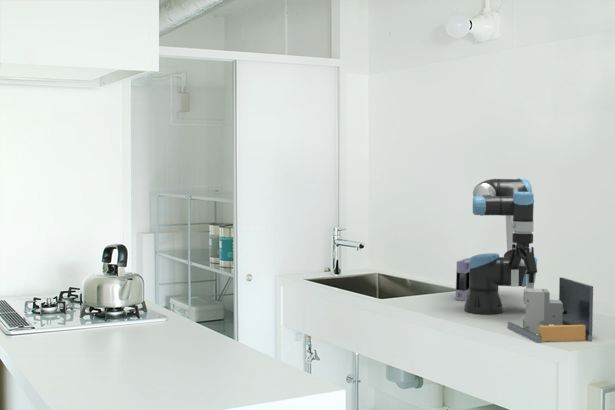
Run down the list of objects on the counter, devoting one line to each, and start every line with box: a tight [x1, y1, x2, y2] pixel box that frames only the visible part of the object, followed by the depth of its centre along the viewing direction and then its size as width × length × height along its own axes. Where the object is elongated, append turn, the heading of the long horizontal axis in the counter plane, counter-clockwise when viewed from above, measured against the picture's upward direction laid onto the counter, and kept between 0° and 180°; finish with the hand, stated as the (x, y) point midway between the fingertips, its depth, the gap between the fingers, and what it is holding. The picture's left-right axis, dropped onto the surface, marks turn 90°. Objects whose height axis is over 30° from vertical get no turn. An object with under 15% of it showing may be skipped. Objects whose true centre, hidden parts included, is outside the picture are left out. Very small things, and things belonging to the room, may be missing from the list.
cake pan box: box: [455, 257, 471, 302], centre depth 346 cm, size 19×5×18 cm, turn 147°
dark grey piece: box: [507, 277, 594, 344], centre depth 270 cm, size 25×21×18 cm
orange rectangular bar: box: [539, 325, 586, 343], centre depth 259 cm, size 2×16×5 cm, turn 98°
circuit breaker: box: [522, 287, 567, 334], centre depth 272 cm, size 8×14×15 cm, turn 78°
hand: (522, 289), depth 291 cm, fingers open, 13 cm apart
